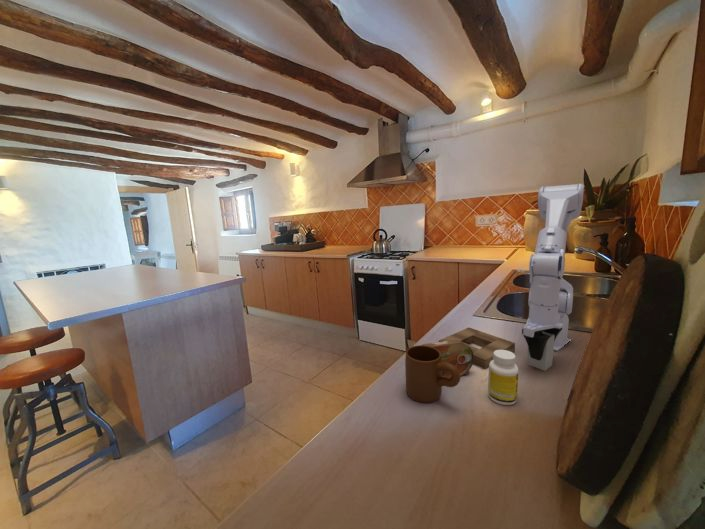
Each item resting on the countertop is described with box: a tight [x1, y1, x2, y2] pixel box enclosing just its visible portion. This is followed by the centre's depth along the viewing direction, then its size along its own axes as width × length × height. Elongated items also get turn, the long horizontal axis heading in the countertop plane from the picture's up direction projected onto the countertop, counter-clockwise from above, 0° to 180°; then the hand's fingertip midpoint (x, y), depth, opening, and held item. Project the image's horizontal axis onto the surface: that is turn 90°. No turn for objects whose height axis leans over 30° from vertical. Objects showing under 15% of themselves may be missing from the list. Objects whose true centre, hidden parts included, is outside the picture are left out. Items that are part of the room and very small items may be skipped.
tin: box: [422, 340, 474, 379], centre depth 68 cm, size 15×3×8 cm, turn 99°
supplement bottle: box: [487, 350, 520, 406], centre depth 59 cm, size 5×5×10 cm
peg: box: [526, 331, 555, 372], centre depth 71 cm, size 4×4×8 cm
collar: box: [438, 327, 516, 370], centre depth 80 cm, size 14×14×2 cm
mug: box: [404, 344, 461, 404], centre depth 61 cm, size 12×8×9 cm, turn 43°
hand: (540, 355), depth 71 cm, fingers closed on peg, 4 cm apart
